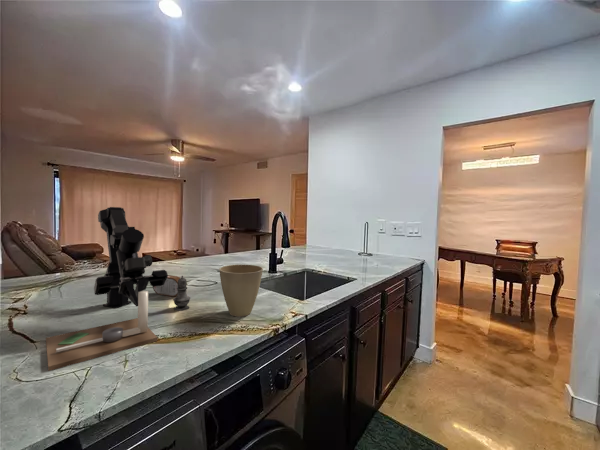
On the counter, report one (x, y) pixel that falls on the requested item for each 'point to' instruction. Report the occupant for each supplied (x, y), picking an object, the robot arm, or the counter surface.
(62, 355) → the dial plate
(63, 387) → the counter surface
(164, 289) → the tin
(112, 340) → the crank handle
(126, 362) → the counter surface
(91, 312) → the counter surface
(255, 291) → the plant pot
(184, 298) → the salt shaker
